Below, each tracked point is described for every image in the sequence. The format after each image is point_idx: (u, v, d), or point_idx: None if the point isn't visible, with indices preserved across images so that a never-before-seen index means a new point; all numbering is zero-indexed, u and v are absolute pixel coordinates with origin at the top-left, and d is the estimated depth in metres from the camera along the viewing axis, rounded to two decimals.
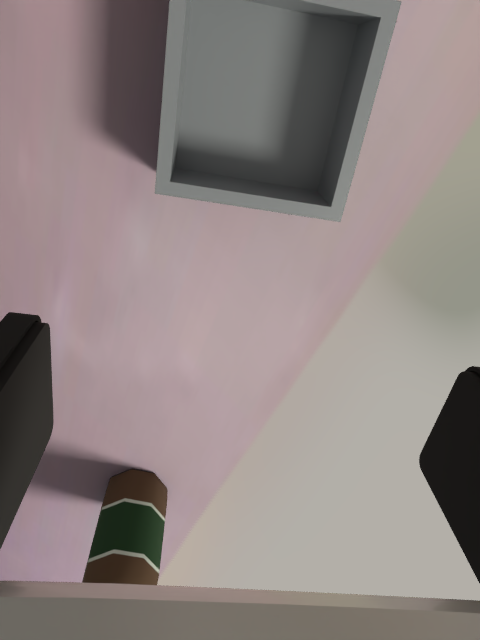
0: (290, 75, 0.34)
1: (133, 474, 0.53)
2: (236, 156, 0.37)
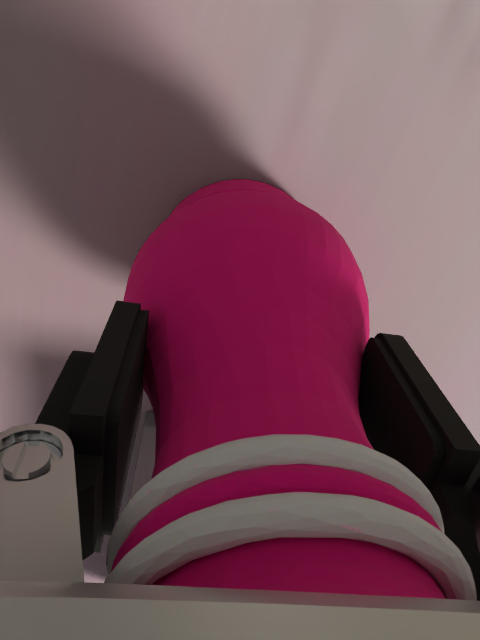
0: None
1: None
2: None
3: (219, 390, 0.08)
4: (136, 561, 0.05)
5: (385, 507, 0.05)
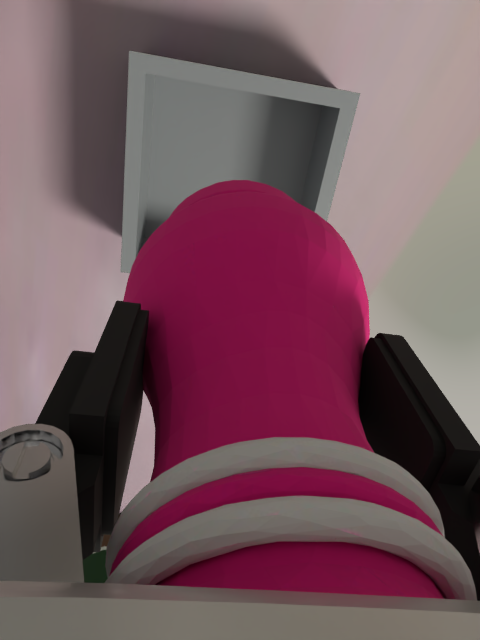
0: (256, 150, 0.34)
1: None
2: None
3: (219, 392, 0.08)
4: (135, 565, 0.05)
5: (385, 511, 0.05)
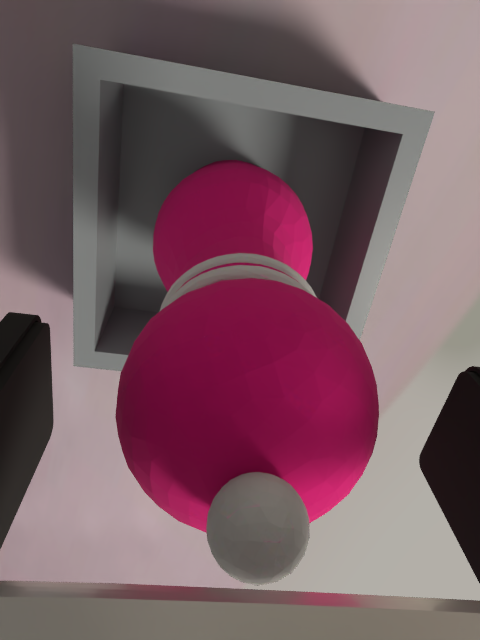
0: None
1: None
2: None
3: (212, 254, 0.15)
4: (175, 295, 0.12)
5: (280, 272, 0.12)
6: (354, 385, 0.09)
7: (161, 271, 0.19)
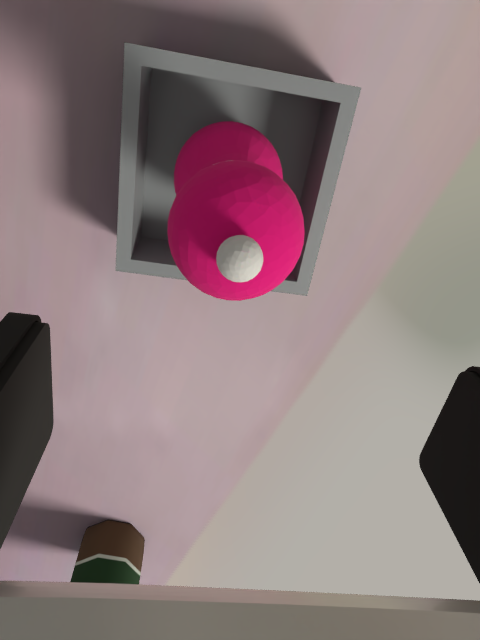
0: None
1: (109, 526, 0.52)
2: None
3: None
4: None
5: None
6: (287, 203, 0.18)
7: None
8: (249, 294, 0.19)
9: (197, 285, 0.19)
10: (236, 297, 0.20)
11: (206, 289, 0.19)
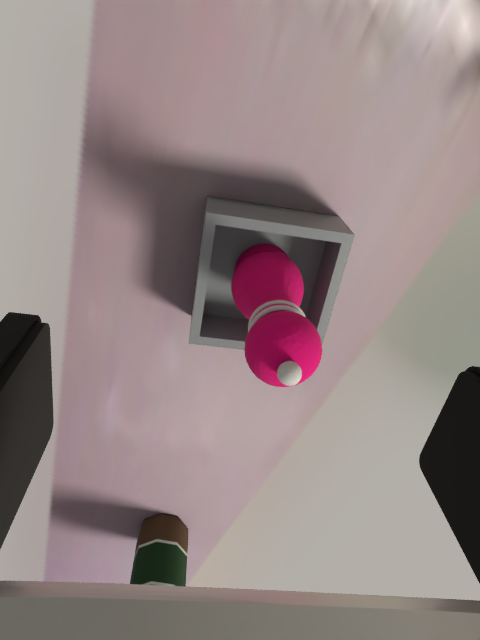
0: None
1: (162, 518, 0.68)
2: None
3: (266, 298, 0.39)
4: (258, 315, 0.37)
5: (292, 307, 0.37)
6: (313, 340, 0.33)
7: (238, 300, 0.43)
8: None
9: (262, 380, 0.35)
10: (283, 386, 0.35)
11: (267, 382, 0.35)
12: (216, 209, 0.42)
